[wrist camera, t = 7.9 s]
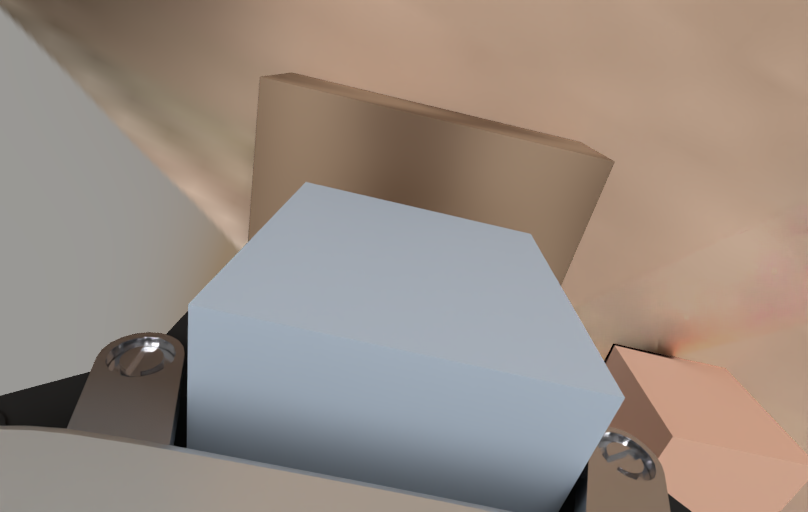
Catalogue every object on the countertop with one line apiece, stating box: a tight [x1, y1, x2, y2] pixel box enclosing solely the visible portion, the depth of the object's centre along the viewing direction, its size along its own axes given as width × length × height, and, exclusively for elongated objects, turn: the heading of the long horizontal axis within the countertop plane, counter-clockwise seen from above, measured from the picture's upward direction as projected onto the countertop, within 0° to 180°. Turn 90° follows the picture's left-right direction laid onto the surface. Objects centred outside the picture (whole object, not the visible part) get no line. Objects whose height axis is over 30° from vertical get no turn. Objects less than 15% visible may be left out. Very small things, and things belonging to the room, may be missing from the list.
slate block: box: [187, 182, 625, 512], centre depth 10 cm, size 6×6×6 cm
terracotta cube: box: [604, 343, 808, 512], centre depth 17 cm, size 5×5×5 cm
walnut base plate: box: [248, 73, 614, 286], centre depth 15 cm, size 10×10×3 cm
